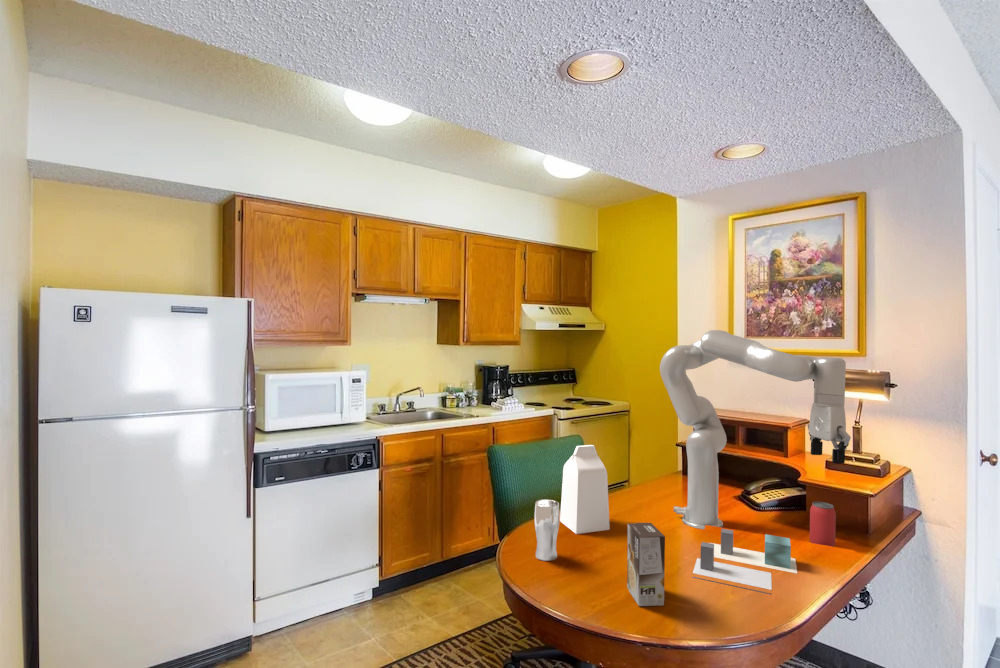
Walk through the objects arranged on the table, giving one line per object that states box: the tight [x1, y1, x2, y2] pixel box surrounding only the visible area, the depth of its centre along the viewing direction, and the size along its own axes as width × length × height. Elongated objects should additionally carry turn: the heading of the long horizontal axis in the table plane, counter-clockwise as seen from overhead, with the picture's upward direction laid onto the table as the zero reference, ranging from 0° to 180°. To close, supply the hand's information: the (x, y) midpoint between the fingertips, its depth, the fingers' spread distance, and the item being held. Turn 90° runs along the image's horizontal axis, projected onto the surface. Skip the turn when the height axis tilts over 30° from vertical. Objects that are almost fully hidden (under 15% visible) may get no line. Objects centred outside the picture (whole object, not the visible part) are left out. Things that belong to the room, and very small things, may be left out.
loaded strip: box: [710, 528, 798, 574], centre depth 143 cm, size 22×10×7 cm, turn 63°
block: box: [764, 533, 792, 569], centre depth 140 cm, size 6×6×6 cm
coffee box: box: [626, 522, 666, 607], centre depth 123 cm, size 9×6×16 cm
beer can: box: [809, 501, 837, 548], centre depth 156 cm, size 7×7×12 cm
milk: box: [559, 444, 611, 535], centre depth 169 cm, size 12×12×26 cm
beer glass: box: [533, 498, 560, 562], centre depth 145 cm, size 7×7×15 cm
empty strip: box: [692, 541, 773, 595], centre depth 133 cm, size 18×10×7 cm, turn 63°
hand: (827, 458), depth 150 cm, fingers open, 9 cm apart
